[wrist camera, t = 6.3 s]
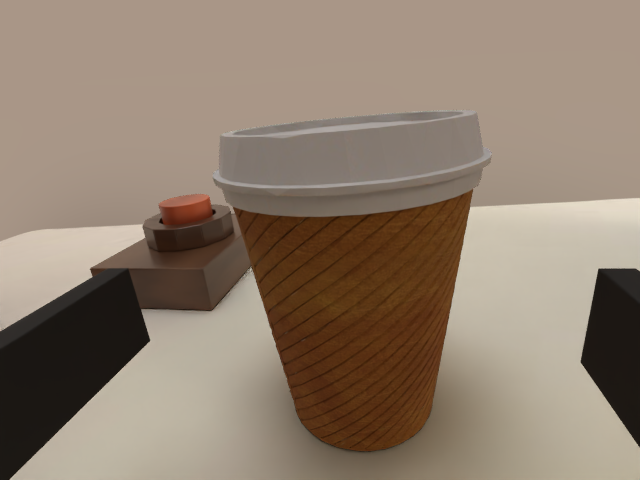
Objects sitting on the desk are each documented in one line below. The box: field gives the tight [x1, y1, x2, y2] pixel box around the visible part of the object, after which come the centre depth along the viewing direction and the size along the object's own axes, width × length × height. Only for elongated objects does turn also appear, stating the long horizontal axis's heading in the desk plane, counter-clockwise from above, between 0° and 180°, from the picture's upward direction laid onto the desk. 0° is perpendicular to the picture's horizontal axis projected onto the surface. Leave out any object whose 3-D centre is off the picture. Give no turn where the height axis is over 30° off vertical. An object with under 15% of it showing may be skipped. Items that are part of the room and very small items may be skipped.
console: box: [90, 205, 251, 310], centre depth 31 cm, size 9×13×5 cm
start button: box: [159, 194, 213, 225], centre depth 30 cm, size 4×4×2 cm
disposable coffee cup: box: [213, 110, 492, 451], centre depth 15 cm, size 10×10×12 cm
